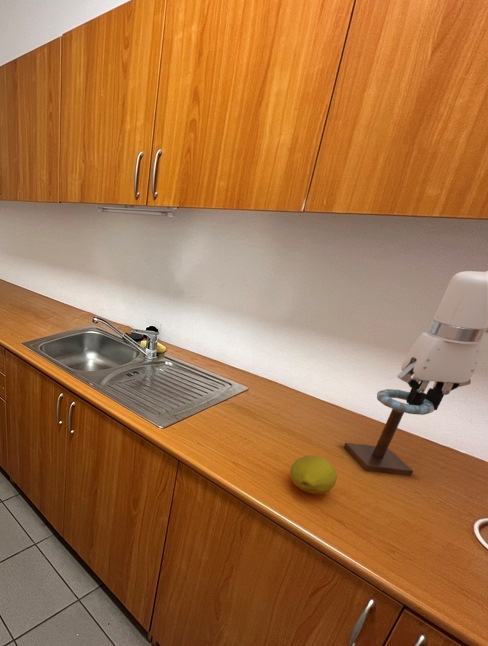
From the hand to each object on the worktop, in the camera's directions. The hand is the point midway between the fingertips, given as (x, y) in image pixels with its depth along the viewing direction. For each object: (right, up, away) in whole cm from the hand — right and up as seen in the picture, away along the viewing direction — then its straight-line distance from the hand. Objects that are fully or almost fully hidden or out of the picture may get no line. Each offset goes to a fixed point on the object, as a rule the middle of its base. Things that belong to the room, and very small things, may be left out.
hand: (421, 405), depth 90 cm
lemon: (-27, -19, -1) cm, 33 cm away
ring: (-3, +1, 0) cm, 3 cm away
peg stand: (-3, -15, +7) cm, 17 cm away
